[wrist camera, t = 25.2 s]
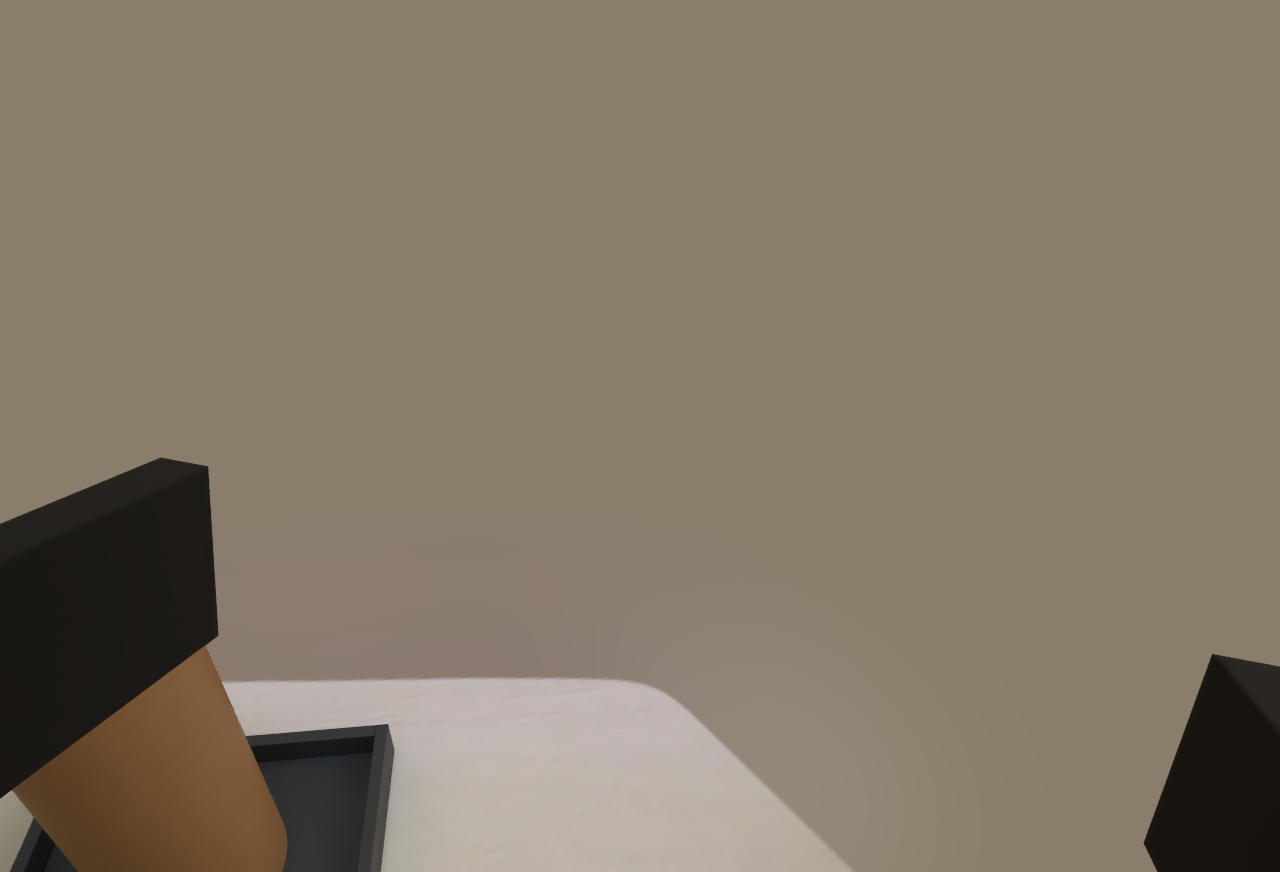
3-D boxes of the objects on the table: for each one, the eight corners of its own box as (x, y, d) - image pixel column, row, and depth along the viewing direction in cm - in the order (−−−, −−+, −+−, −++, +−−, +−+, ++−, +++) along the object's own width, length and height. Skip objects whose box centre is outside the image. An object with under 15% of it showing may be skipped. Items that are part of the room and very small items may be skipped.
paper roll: (301, 786, 41) (203, 540, 30) (270, 942, 35) (138, 708, 25) (148, 801, 40) (-7, 552, 29) (92, 963, 35) (-123, 730, 24)
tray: (394, 748, 44) (388, 723, 42) (367, 993, 35) (358, 971, 33) (80, 776, 42) (63, 751, 40) (-31, 1042, 33) (-59, 1022, 31)
